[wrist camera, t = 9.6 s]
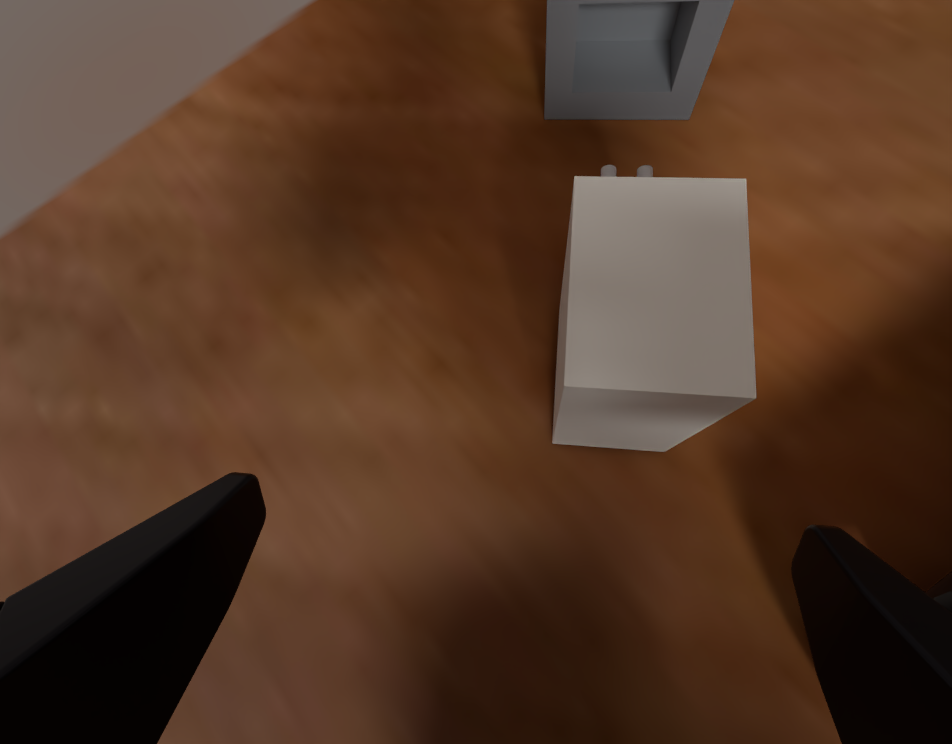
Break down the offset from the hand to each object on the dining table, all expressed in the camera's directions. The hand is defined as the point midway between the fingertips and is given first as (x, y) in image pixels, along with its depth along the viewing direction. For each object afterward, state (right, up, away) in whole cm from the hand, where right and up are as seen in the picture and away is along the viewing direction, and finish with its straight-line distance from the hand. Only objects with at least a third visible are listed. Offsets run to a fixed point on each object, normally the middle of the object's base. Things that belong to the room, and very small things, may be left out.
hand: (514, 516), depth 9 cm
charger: (+5, +4, +15) cm, 16 cm away
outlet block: (+6, +17, +18) cm, 26 cm away
